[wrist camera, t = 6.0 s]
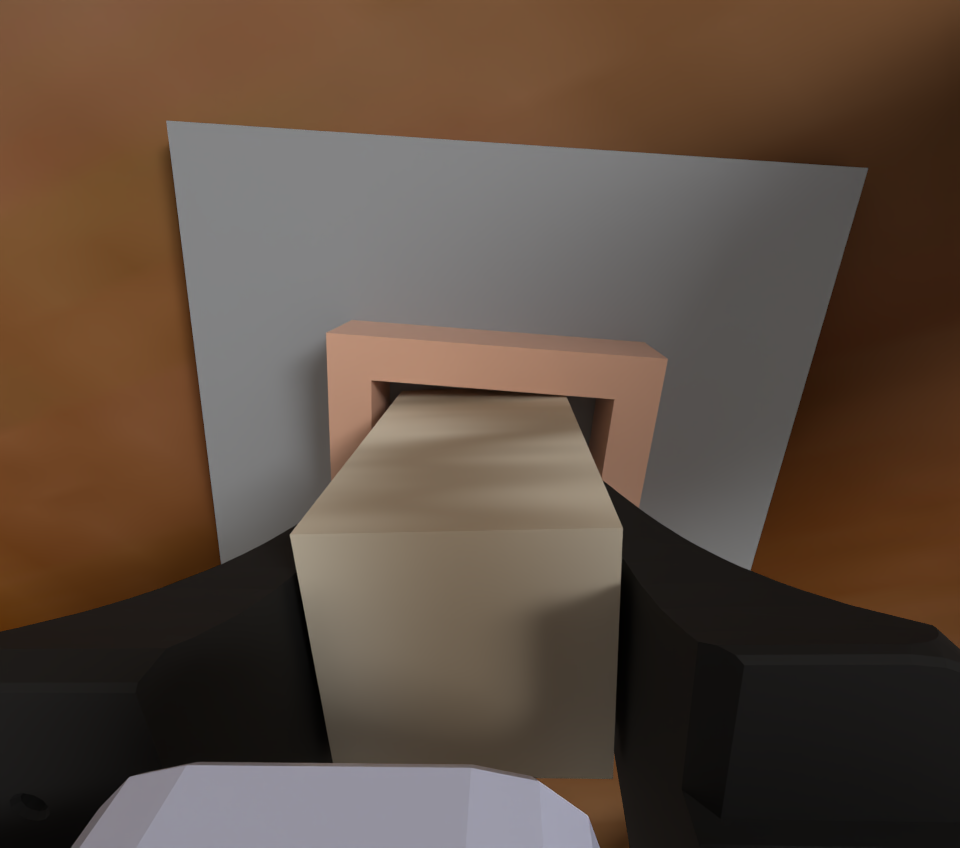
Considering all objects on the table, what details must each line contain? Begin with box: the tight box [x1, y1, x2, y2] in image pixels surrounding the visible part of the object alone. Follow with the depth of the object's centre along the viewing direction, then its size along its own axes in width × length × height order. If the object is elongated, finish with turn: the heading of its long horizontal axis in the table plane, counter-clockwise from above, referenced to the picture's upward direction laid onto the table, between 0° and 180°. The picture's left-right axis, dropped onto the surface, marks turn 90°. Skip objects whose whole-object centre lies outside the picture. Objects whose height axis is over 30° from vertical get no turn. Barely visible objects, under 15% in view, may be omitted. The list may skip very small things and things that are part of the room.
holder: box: [166, 121, 868, 570], centre depth 14 cm, size 16×16×3 cm
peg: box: [290, 388, 623, 779], centre depth 10 cm, size 4×4×7 cm
